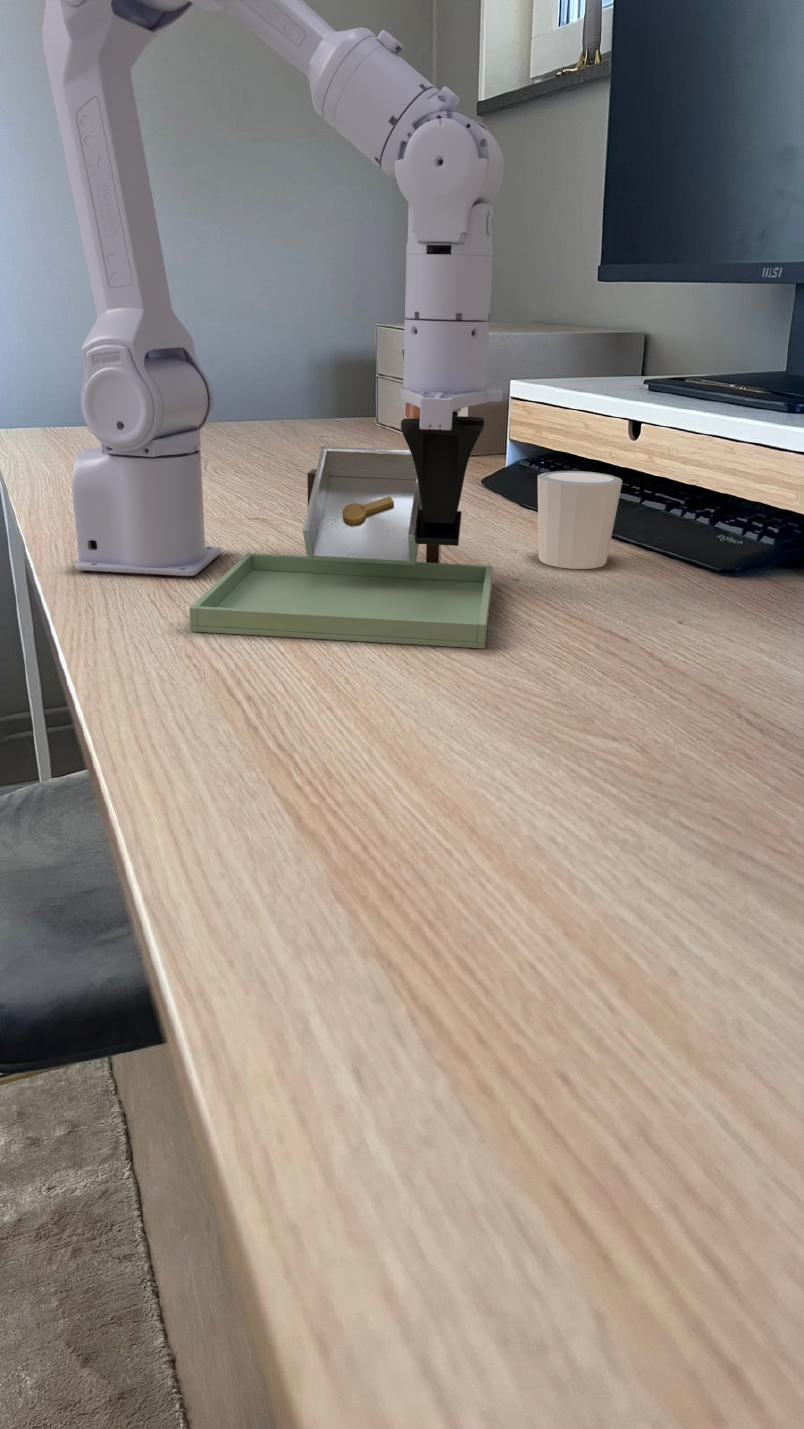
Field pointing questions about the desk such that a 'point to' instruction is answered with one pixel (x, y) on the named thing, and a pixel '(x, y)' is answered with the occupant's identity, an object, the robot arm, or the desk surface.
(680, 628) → the desk surface
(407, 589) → the tray
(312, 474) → the stand
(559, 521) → the white cup
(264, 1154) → the desk surface
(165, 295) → the robot arm
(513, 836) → the desk surface
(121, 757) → the desk surface
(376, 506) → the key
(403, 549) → the rectangular metal pan
